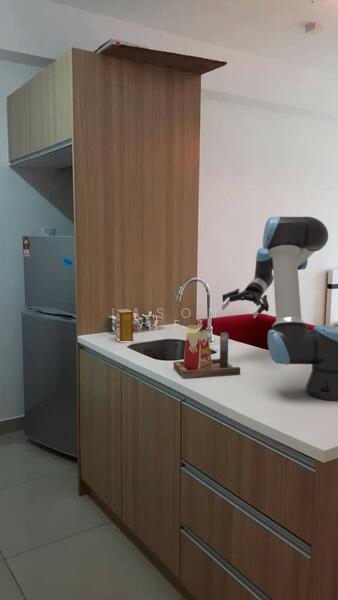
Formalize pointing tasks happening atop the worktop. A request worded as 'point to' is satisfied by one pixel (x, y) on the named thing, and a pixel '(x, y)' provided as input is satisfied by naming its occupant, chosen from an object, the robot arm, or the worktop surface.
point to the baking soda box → (124, 325)
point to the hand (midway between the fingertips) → (238, 311)
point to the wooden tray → (218, 365)
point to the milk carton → (197, 349)
